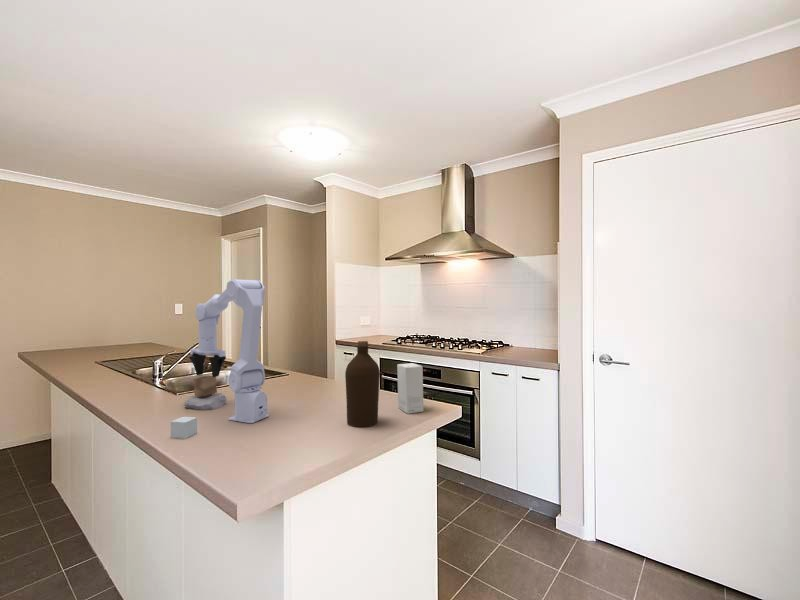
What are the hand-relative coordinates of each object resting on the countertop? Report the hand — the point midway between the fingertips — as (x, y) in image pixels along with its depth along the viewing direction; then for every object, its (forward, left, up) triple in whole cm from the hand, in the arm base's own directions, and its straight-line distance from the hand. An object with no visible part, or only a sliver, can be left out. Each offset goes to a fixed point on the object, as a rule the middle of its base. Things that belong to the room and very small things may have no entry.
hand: (207, 375), depth 137 cm
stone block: (0, +2, -11) cm, 11 cm away
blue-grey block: (-19, +25, -10) cm, 33 cm away
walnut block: (0, 0, -7) cm, 7 cm away
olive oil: (-60, -3, -11) cm, 61 cm away
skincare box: (-69, -21, -11) cm, 73 cm away
